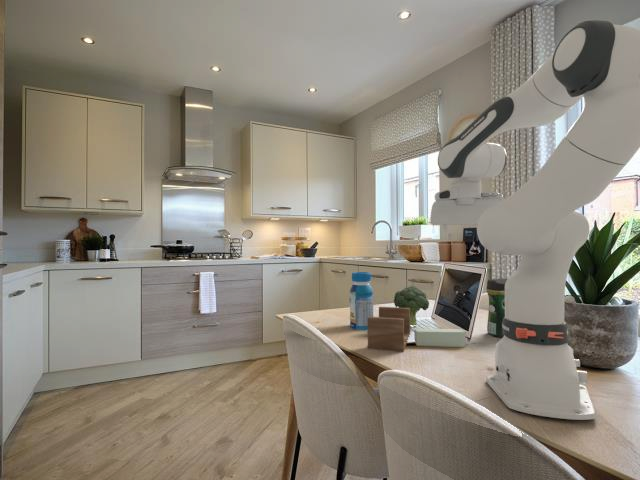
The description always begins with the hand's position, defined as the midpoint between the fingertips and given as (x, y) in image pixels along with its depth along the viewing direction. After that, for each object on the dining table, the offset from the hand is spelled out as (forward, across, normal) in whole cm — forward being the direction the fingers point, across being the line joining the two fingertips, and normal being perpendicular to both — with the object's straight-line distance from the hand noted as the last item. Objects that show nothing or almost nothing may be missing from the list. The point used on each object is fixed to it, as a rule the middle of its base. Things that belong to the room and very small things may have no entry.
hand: (465, 240), depth 113 cm
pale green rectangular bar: (+31, +8, +3) cm, 32 cm away
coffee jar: (+31, -12, -16) cm, 37 cm away
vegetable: (+31, +18, -18) cm, 40 cm away
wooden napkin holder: (+31, +22, +4) cm, 38 cm away
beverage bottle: (+31, +34, -10) cm, 47 cm away
